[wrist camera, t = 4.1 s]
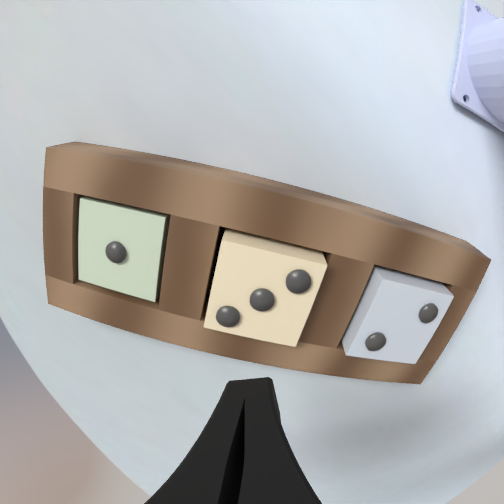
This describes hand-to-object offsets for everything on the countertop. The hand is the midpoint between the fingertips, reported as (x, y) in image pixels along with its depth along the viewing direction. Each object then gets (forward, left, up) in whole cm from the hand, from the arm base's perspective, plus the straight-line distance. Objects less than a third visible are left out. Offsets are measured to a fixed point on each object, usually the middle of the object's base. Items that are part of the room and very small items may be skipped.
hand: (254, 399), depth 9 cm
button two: (-8, 0, -9) cm, 12 cm away
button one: (+8, 0, -10) cm, 13 cm away
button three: (0, 0, -9) cm, 9 cm away
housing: (0, 0, -10) cm, 10 cm away
